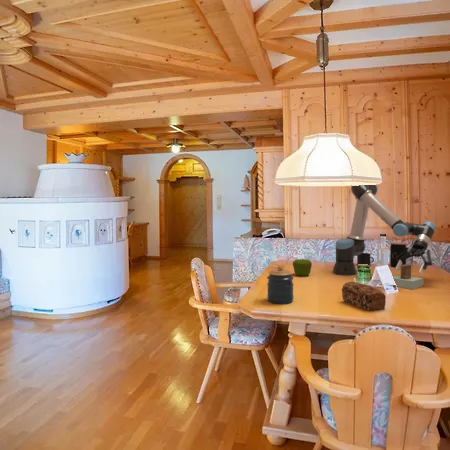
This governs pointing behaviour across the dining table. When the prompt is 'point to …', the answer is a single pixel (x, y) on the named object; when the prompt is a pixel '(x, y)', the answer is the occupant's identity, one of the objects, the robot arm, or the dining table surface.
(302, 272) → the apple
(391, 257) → the coffee jar
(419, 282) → the end cap
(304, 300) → the dining table surface
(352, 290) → the bread
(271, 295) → the canister
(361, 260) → the mug
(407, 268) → the slat
